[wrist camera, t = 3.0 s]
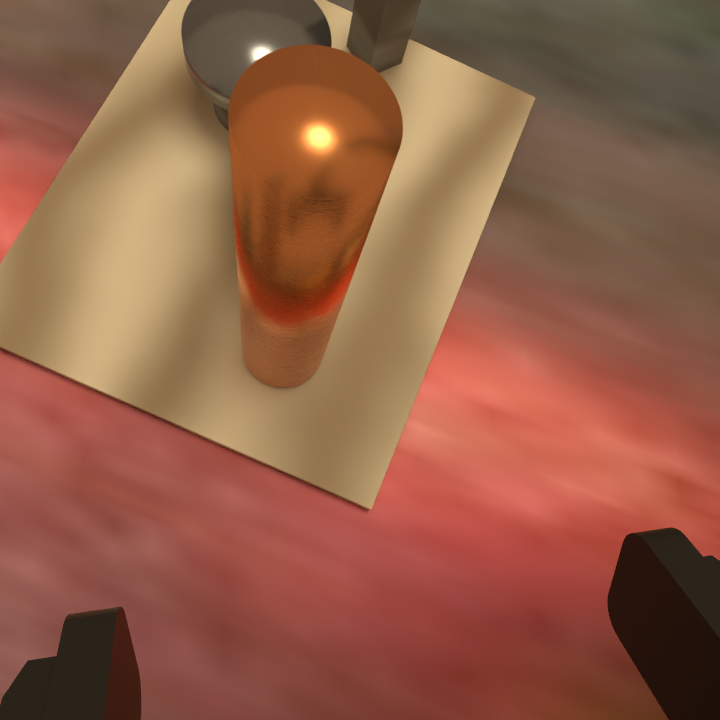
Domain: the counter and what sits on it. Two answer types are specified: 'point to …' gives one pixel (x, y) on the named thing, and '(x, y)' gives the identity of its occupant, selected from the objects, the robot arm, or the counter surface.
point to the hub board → (219, 262)
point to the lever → (293, 168)
